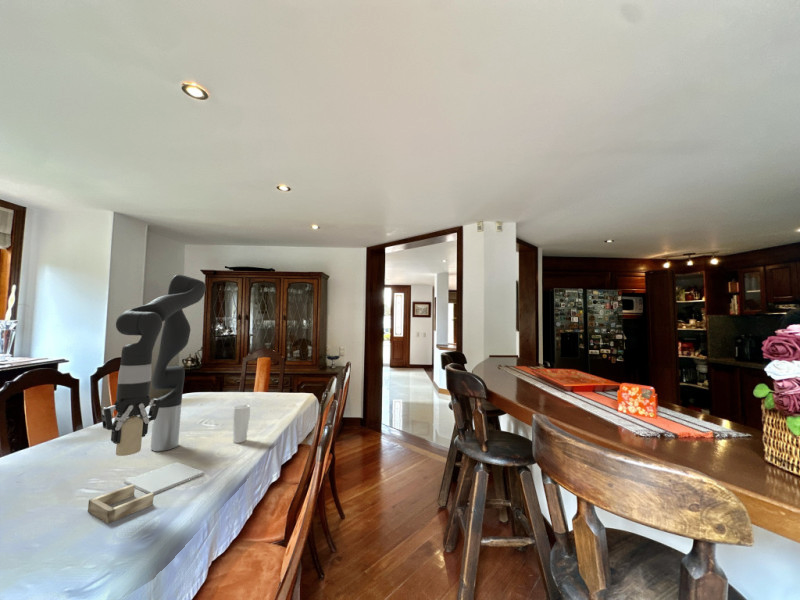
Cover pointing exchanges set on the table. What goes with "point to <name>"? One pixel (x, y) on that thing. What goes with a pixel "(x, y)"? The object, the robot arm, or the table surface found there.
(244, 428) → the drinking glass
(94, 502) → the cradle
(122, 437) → the candle
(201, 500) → the table surface
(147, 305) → the robot arm
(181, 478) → the plate
